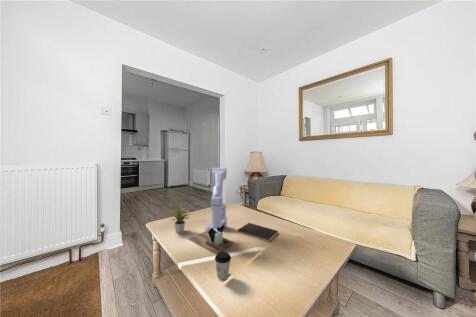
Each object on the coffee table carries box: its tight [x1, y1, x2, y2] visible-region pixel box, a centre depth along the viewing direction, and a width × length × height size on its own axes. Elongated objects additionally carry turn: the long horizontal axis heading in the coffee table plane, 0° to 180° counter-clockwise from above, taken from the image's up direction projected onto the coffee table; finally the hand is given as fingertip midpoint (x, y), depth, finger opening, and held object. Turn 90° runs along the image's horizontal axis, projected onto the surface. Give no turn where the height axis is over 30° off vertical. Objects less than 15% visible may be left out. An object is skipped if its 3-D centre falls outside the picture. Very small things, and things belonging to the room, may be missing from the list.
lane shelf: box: [187, 230, 236, 255], centre depth 102 cm, size 16×25×2 cm, turn 52°
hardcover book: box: [237, 222, 279, 243], centre depth 116 cm, size 16×23×2 cm
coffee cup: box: [214, 251, 232, 282], centre depth 73 cm, size 7×7×10 cm
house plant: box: [171, 207, 192, 234], centre depth 114 cm, size 14×14×16 cm
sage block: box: [209, 229, 224, 246], centre depth 99 cm, size 5×6×7 cm
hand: (215, 239), depth 99 cm, fingers closed on sage block, 5 cm apart
